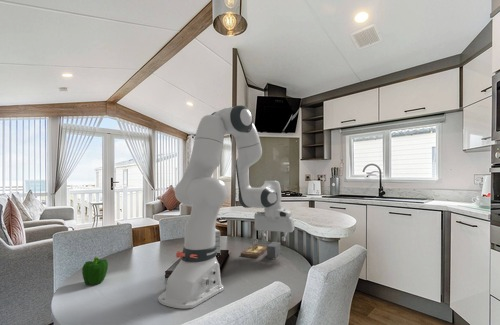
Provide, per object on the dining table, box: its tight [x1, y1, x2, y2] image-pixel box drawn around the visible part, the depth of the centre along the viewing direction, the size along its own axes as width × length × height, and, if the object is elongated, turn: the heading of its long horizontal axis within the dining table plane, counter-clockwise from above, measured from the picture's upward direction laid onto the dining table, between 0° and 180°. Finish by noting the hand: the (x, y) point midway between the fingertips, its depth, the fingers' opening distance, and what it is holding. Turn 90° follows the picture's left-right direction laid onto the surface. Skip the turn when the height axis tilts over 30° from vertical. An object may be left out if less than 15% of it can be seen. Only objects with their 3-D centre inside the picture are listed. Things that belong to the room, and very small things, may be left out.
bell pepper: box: [81, 256, 109, 286], centre depth 92 cm, size 8×8×10 cm
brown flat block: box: [240, 239, 268, 259], centre depth 125 cm, size 16×9×6 cm, turn 156°
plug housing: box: [266, 241, 282, 260], centre depth 119 cm, size 9×4×6 cm, turn 156°
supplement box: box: [215, 228, 221, 254], centre depth 122 cm, size 7×7×13 cm
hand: (274, 240), depth 120 cm, fingers open, 8 cm apart
